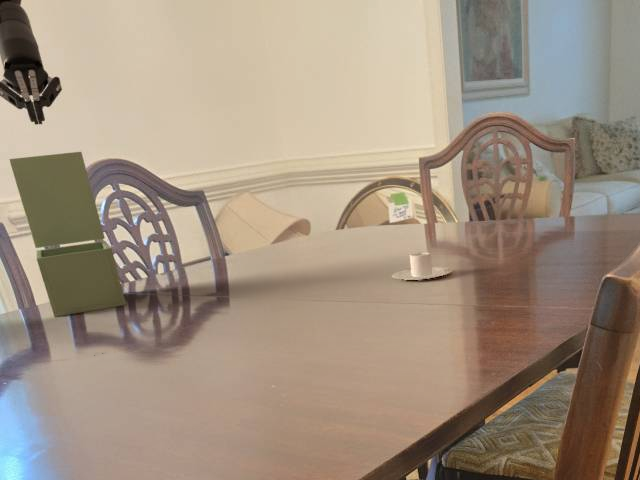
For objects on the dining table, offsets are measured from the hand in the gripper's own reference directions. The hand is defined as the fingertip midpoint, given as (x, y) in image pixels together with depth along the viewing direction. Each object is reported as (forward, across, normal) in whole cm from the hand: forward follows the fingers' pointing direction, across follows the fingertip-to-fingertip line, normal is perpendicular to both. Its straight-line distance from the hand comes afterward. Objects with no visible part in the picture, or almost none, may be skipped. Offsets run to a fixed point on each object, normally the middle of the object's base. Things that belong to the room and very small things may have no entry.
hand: (37, 121), depth 153 cm
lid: (+13, 0, -7) cm, 15 cm away
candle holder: (+54, -63, +9) cm, 83 cm away
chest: (+33, 0, -14) cm, 36 cm away
